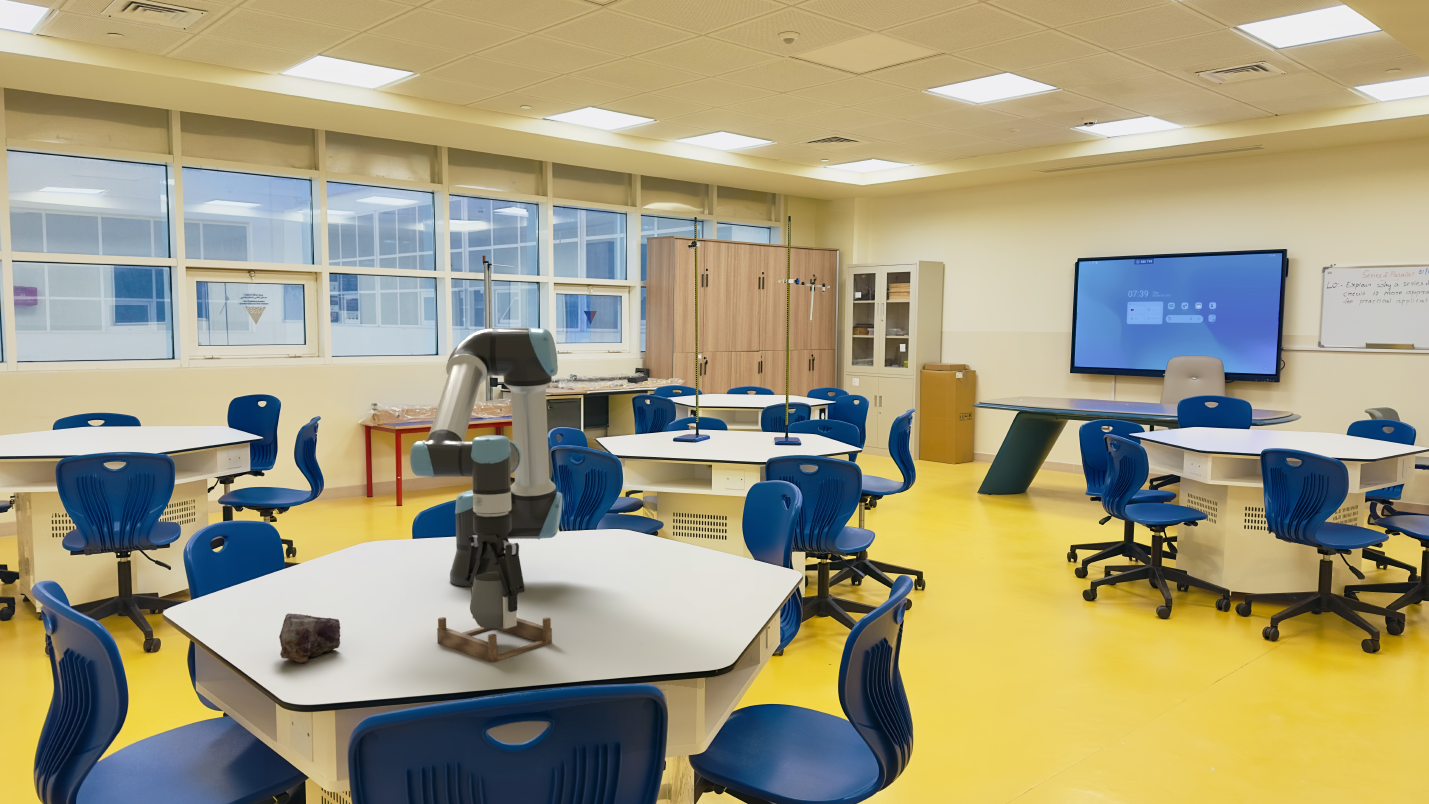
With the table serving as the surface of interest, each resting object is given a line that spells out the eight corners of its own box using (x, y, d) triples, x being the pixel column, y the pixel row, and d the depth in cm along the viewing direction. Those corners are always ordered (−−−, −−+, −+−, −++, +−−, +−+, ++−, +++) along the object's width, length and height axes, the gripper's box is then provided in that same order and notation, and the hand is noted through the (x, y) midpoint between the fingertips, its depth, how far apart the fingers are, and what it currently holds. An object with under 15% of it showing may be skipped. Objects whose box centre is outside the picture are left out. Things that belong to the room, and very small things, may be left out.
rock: (344, 659, 183) (314, 648, 189) (350, 615, 184) (319, 606, 189) (290, 667, 173) (259, 656, 179) (295, 621, 174) (265, 611, 179)
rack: (436, 642, 189) (436, 618, 189) (497, 624, 201) (496, 602, 200) (491, 662, 177) (491, 637, 177) (552, 642, 189) (552, 618, 189)
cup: (526, 620, 191) (525, 572, 191) (502, 634, 183) (501, 584, 182) (486, 616, 195) (485, 569, 194) (460, 629, 186) (459, 580, 185)
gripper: (444, 509, 191) (446, 615, 193) (511, 522, 177) (513, 637, 179) (474, 503, 197) (476, 607, 199) (542, 516, 183) (544, 628, 184)
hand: (494, 621), depth 189 cm, fingers closed on cup, 9 cm apart
